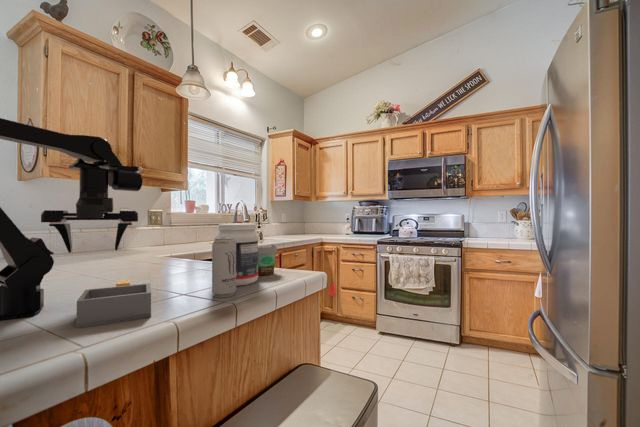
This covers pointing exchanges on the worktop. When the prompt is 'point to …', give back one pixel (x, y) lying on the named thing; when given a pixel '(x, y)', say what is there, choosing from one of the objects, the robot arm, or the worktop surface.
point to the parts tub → (113, 305)
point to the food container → (266, 260)
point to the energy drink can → (223, 267)
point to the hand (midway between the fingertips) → (93, 251)
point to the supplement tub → (243, 250)
